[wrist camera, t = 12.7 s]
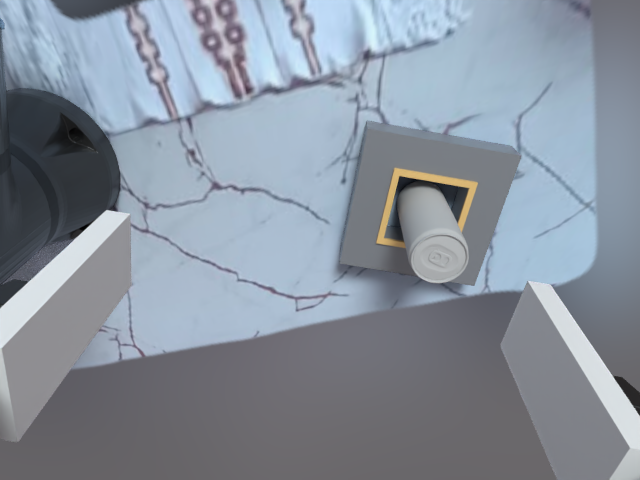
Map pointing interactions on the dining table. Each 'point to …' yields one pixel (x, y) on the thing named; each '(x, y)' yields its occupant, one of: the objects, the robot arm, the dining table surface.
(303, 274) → the dining table surface
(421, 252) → the beverage can
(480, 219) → the socket plate
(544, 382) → the robot arm
